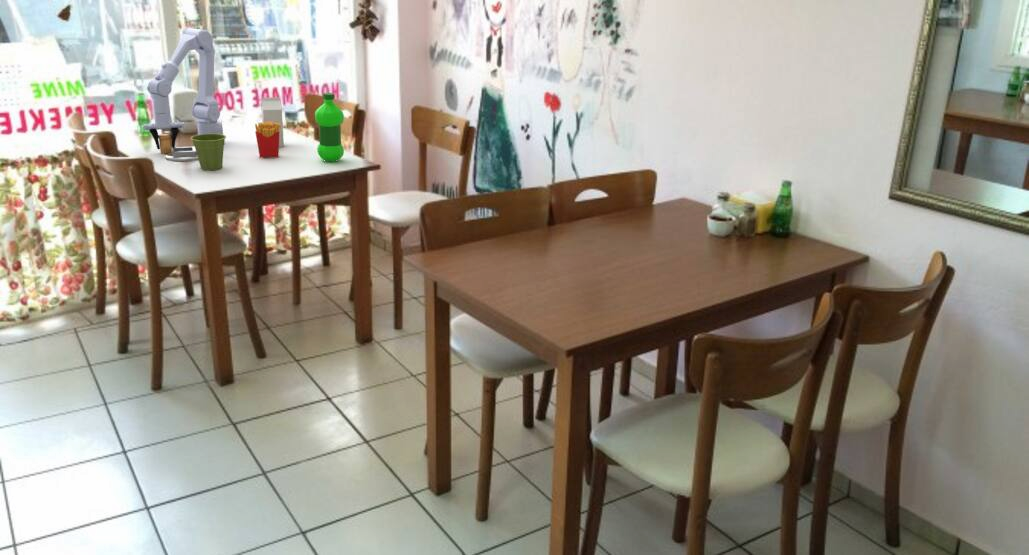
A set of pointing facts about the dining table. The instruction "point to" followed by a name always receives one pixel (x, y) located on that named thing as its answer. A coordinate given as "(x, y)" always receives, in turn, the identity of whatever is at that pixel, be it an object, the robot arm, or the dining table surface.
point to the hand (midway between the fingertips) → (165, 148)
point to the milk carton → (273, 114)
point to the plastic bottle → (329, 129)
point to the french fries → (268, 139)
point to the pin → (165, 143)
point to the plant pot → (209, 150)
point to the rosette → (182, 154)
